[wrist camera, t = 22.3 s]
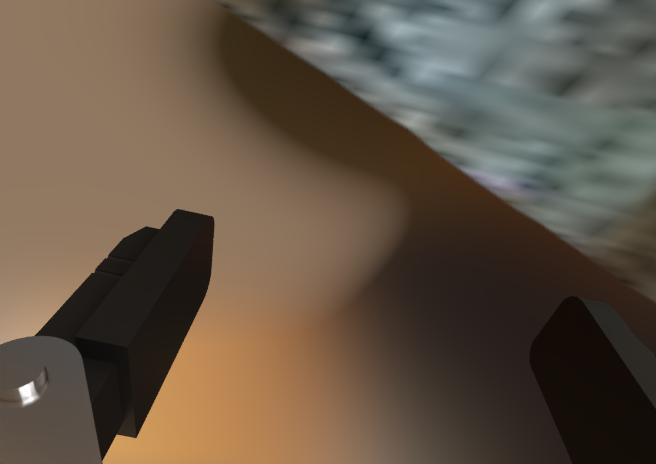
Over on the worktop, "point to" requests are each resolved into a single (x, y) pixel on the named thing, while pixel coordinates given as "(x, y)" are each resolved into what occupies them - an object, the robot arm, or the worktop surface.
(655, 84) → the worktop surface
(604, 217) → the worktop surface
